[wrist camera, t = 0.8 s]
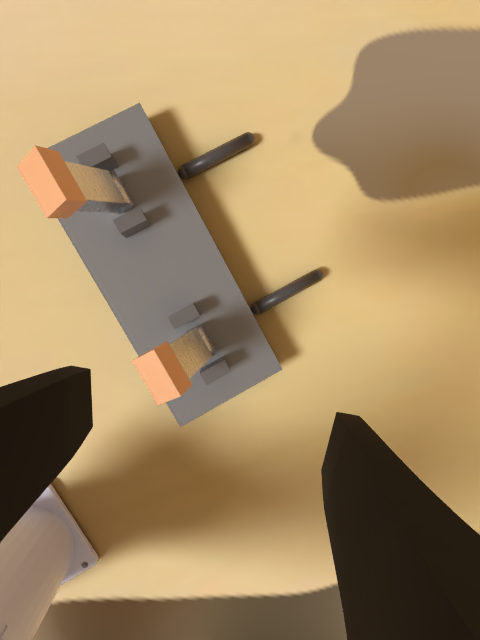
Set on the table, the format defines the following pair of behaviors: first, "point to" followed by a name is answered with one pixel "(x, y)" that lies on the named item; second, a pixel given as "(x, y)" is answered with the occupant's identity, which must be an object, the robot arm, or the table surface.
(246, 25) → the table surface
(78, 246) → the breaker block
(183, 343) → the lever
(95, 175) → the lever
